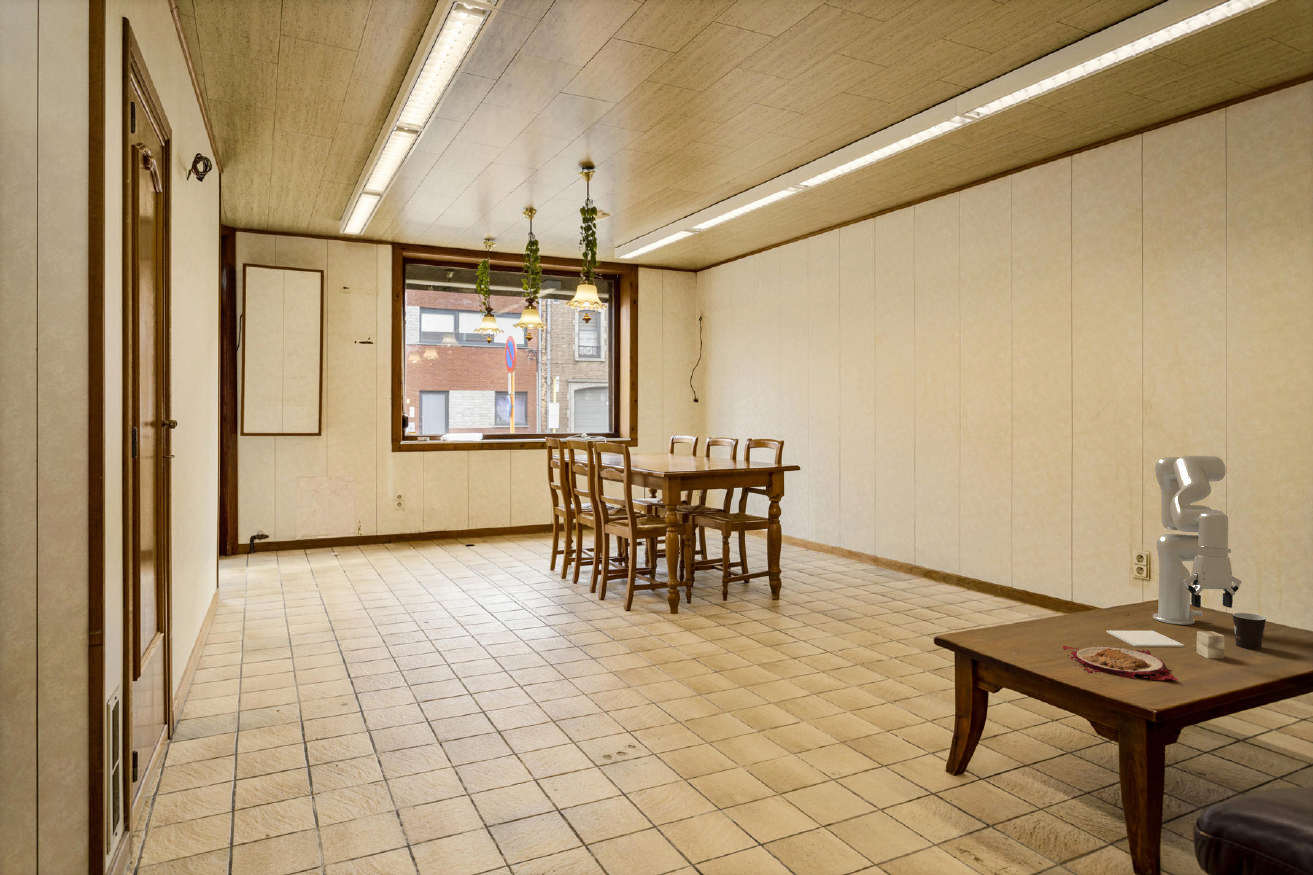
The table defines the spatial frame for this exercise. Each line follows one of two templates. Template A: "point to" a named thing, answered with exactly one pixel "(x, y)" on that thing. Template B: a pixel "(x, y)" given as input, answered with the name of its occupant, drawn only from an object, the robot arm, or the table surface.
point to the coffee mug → (1248, 630)
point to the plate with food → (1121, 662)
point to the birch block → (1210, 644)
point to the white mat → (1145, 639)
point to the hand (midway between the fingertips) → (1211, 606)
